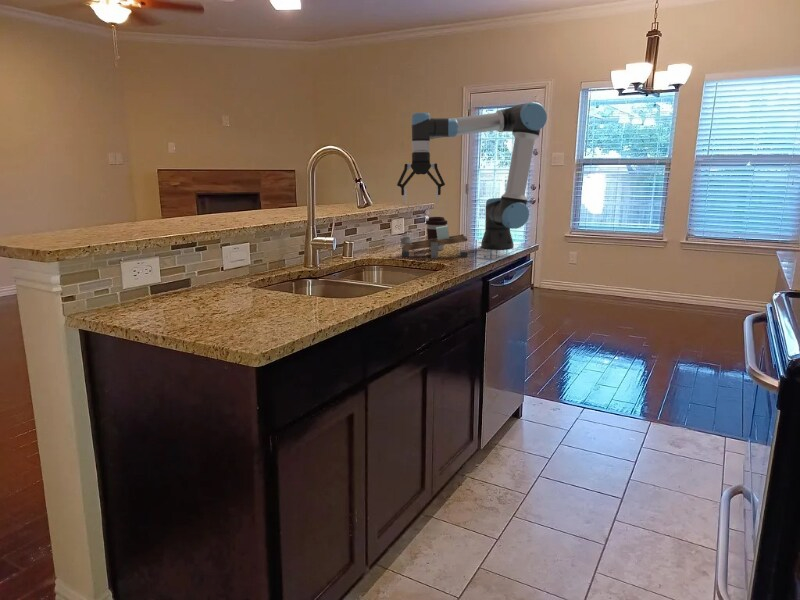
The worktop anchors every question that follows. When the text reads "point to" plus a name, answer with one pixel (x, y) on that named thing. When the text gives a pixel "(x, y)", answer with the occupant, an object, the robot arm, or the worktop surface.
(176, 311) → the worktop surface
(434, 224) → the coffee cup
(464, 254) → the fulcrum
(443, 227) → the light blue block
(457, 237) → the beam
